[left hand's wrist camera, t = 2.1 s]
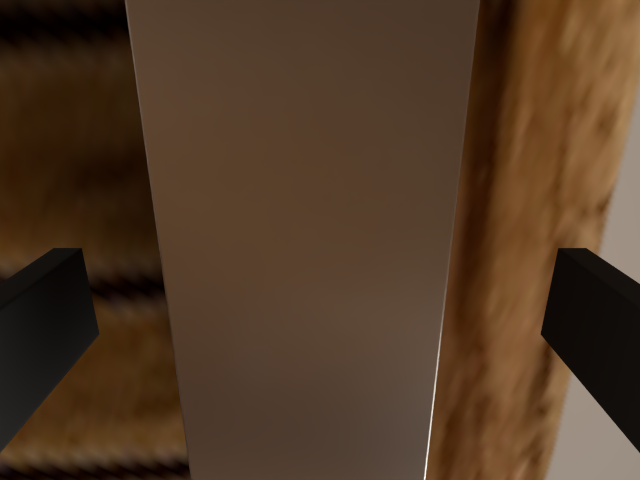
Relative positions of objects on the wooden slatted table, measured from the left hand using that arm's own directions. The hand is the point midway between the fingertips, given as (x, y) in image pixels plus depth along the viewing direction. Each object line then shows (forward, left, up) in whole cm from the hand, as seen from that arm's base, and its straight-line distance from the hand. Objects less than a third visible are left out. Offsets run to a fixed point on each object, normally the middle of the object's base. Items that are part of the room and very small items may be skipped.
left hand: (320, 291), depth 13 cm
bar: (+3, +27, -3) cm, 27 cm away
